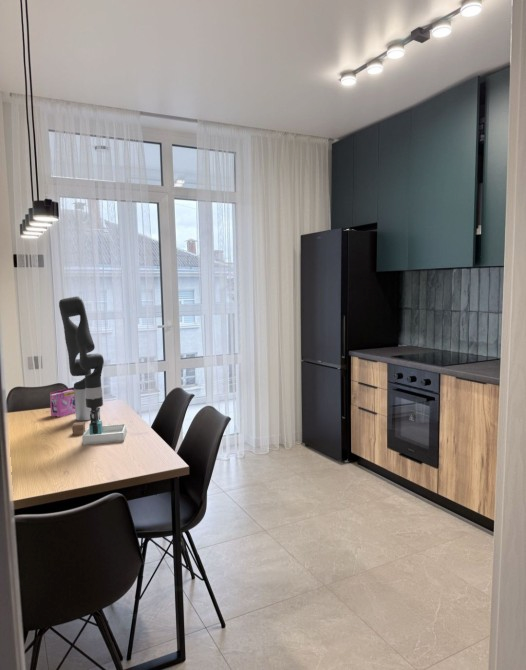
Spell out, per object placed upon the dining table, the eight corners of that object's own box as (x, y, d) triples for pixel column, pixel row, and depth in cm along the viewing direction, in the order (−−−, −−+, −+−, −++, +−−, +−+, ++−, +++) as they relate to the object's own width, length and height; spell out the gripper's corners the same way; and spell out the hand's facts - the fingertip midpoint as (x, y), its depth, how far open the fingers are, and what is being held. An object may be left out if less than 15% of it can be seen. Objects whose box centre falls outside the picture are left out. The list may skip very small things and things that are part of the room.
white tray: (88, 434, 229) (87, 426, 229) (126, 431, 232) (126, 423, 232) (82, 445, 213) (82, 436, 213) (123, 441, 217) (123, 432, 216)
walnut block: (74, 432, 234) (74, 422, 233) (85, 431, 235) (84, 421, 234) (72, 435, 229) (72, 425, 228) (83, 434, 230) (82, 424, 229)
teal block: (91, 431, 224) (91, 421, 223) (102, 430, 225) (102, 420, 224) (90, 434, 219) (89, 424, 218) (101, 433, 220) (100, 423, 219)
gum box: (58, 418, 264) (56, 394, 262) (48, 416, 267) (46, 393, 266) (91, 408, 285) (90, 386, 284) (82, 407, 288) (80, 385, 287)
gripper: (88, 393, 227) (90, 428, 228) (82, 400, 213) (85, 437, 214) (104, 392, 228) (106, 427, 230) (100, 399, 214) (102, 435, 216)
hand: (96, 431), depth 222 cm, fingers closed on teal block, 4 cm apart
